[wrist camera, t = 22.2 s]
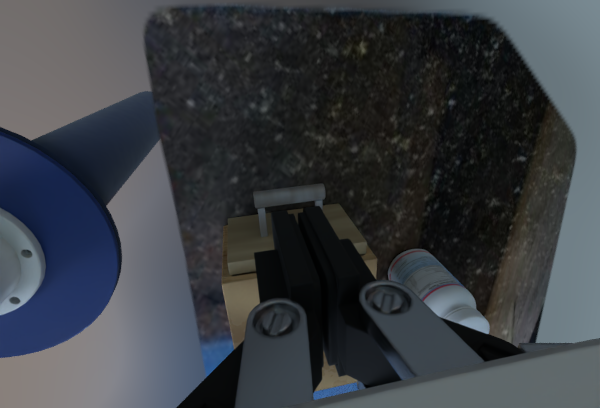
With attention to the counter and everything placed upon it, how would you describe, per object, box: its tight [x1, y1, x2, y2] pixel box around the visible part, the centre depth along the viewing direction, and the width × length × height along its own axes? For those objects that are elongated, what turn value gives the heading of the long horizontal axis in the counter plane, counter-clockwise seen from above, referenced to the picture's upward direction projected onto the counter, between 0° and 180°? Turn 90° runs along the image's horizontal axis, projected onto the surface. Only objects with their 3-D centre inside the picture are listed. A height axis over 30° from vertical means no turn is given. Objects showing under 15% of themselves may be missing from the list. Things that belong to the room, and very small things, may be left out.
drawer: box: [227, 183, 367, 275], centre depth 32 cm, size 18×11×8 cm, turn 3°
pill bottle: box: [388, 249, 490, 334], centre depth 36 cm, size 6×6×11 cm
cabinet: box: [222, 225, 377, 391], centre depth 33 cm, size 15×13×10 cm
